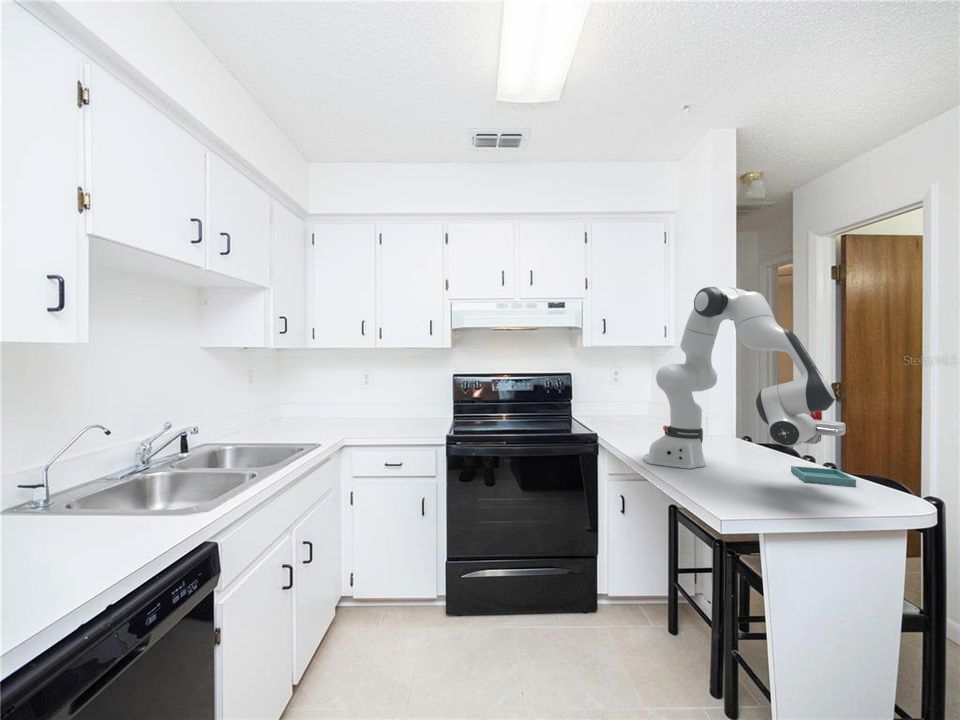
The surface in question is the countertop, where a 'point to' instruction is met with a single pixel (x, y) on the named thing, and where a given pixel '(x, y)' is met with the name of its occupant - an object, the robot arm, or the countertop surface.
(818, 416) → the soda can
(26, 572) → the countertop surface
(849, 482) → the tray
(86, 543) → the countertop surface
